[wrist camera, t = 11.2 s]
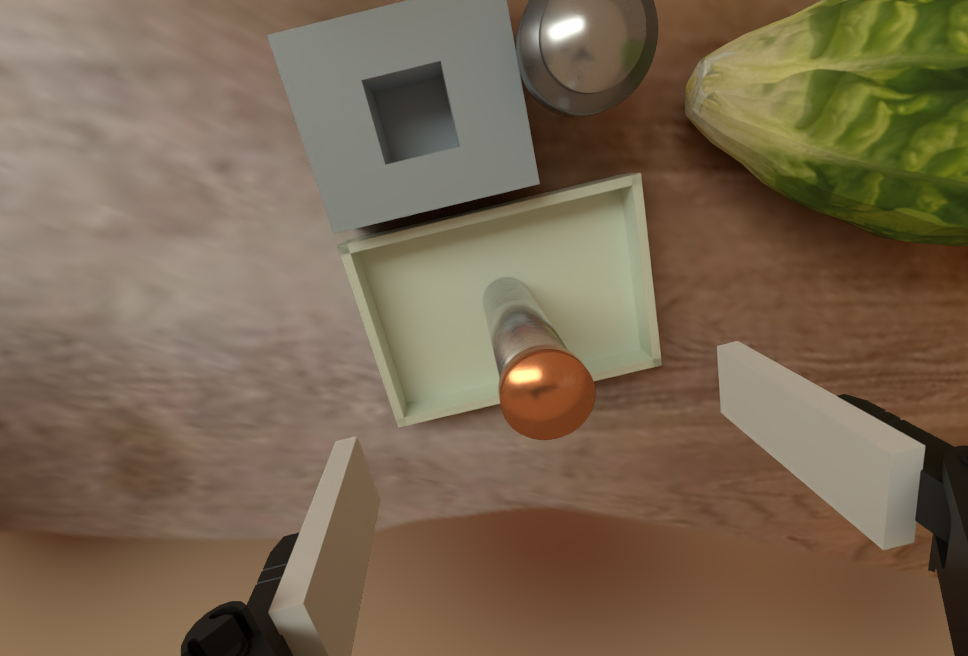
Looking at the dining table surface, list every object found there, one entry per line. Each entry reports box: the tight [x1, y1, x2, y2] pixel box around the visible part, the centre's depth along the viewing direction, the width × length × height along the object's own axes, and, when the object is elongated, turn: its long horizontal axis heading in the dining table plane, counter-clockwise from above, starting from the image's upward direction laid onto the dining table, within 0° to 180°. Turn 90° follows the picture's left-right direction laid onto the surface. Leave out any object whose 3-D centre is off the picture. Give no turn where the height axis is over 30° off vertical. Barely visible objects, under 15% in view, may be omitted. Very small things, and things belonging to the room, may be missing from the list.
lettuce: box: [685, 0, 968, 246], centre depth 25 cm, size 14×23×13 cm, turn 81°
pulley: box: [516, 0, 658, 117], centre depth 24 cm, size 6×6×8 cm
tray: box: [338, 173, 662, 428], centre depth 32 cm, size 19×13×3 cm
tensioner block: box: [267, 0, 540, 234], centre depth 27 cm, size 12×10×5 cm
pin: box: [482, 277, 595, 440], centre depth 25 cm, size 4×4×15 cm
